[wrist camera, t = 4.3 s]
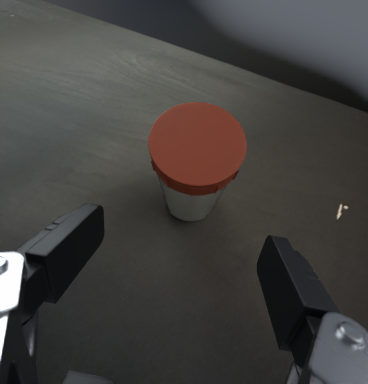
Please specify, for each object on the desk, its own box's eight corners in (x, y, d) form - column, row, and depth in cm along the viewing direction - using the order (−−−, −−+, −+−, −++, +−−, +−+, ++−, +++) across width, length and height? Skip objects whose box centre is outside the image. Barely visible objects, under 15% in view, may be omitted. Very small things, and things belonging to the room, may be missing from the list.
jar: (153, 191, 21) (133, 138, 12) (193, 162, 22) (202, 95, 14) (186, 232, 20) (190, 206, 11) (227, 199, 21) (261, 152, 12)
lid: (135, 148, 14) (129, 132, 12) (201, 107, 15) (203, 87, 13) (189, 214, 12) (190, 206, 10) (257, 161, 13) (267, 147, 12)
